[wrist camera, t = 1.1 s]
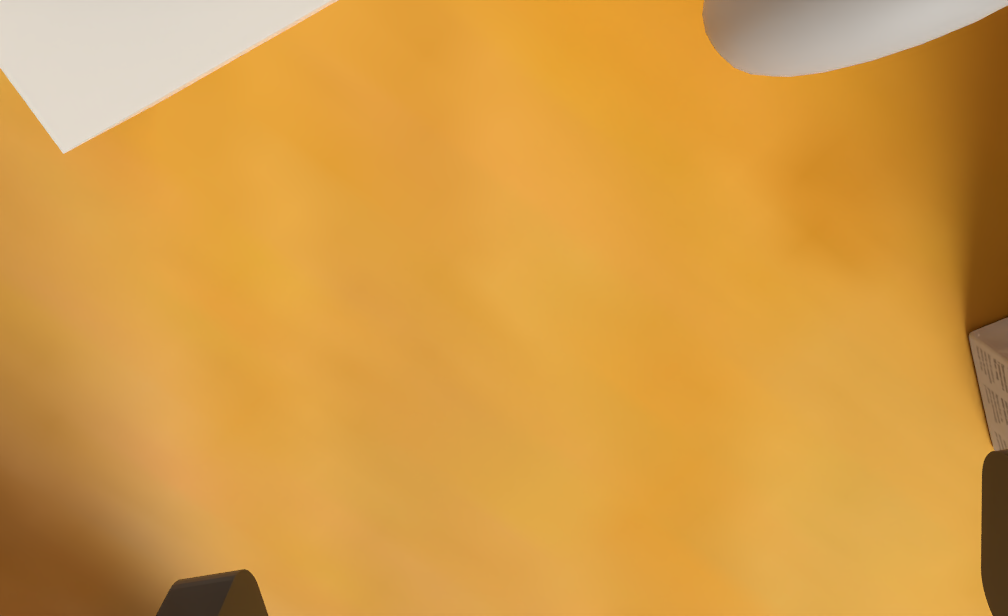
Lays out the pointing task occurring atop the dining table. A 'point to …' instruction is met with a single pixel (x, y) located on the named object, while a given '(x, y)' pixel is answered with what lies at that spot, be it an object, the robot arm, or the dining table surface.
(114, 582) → the dining table surface
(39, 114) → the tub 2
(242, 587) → the robot arm
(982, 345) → the grey mechanical block
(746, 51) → the donut
